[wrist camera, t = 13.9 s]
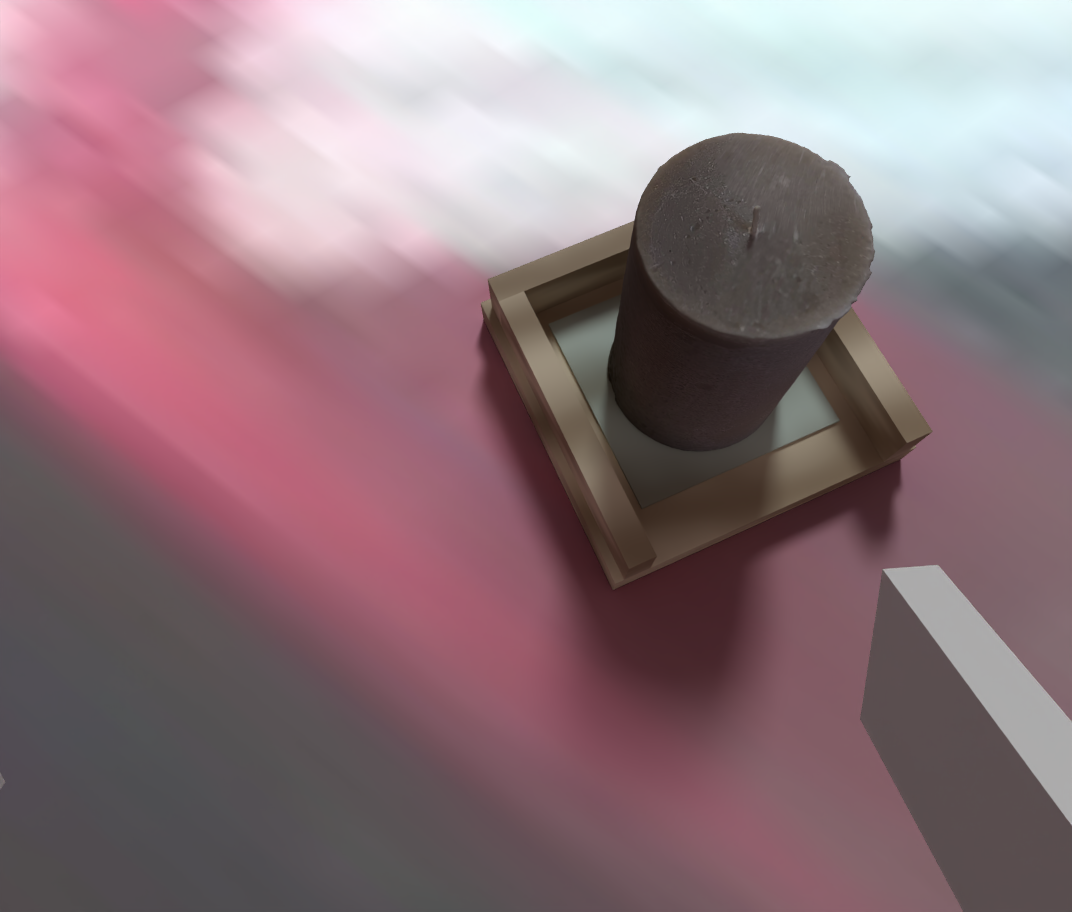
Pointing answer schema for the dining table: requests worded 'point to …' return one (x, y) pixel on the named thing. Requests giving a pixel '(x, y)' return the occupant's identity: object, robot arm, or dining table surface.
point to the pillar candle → (733, 286)
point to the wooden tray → (668, 473)
